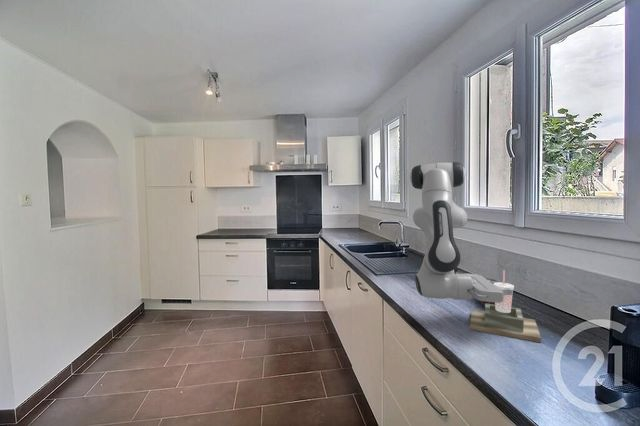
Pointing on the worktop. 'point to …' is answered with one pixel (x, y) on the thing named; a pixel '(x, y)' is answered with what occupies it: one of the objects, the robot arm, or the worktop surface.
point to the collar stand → (504, 323)
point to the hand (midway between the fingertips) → (506, 288)
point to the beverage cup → (506, 304)
